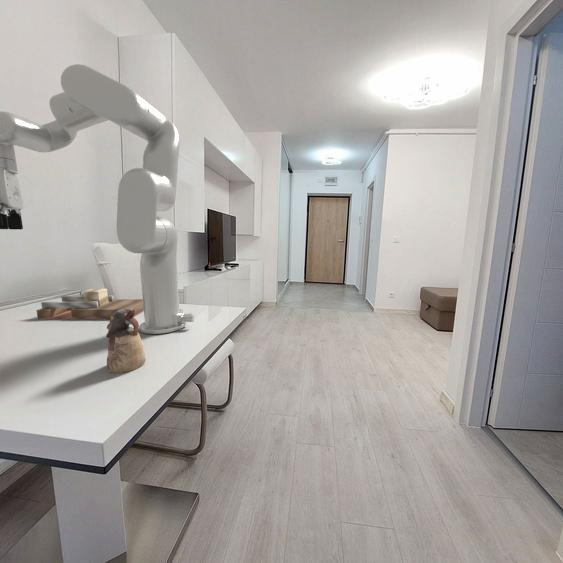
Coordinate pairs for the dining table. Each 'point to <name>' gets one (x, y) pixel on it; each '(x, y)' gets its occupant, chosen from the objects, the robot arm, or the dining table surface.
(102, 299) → the block
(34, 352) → the dining table surface
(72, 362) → the dining table surface
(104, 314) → the trap deck
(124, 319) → the figurine
